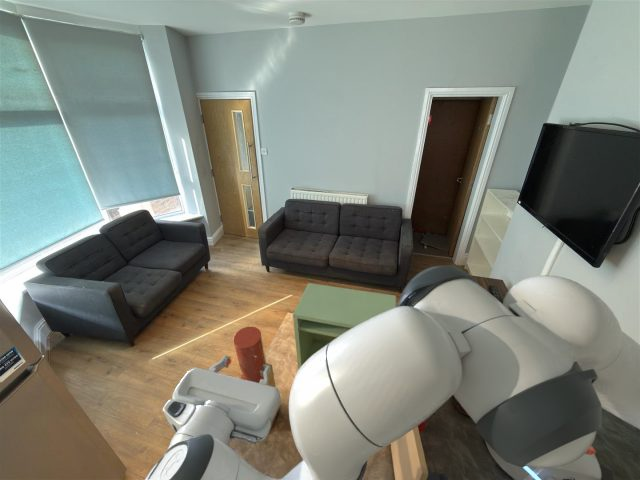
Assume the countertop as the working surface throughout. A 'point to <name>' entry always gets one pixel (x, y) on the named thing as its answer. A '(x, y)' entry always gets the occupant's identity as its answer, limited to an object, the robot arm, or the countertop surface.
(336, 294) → the cupboard
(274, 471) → the countertop surface
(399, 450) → the cupboard door
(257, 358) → the red tall cylinder
